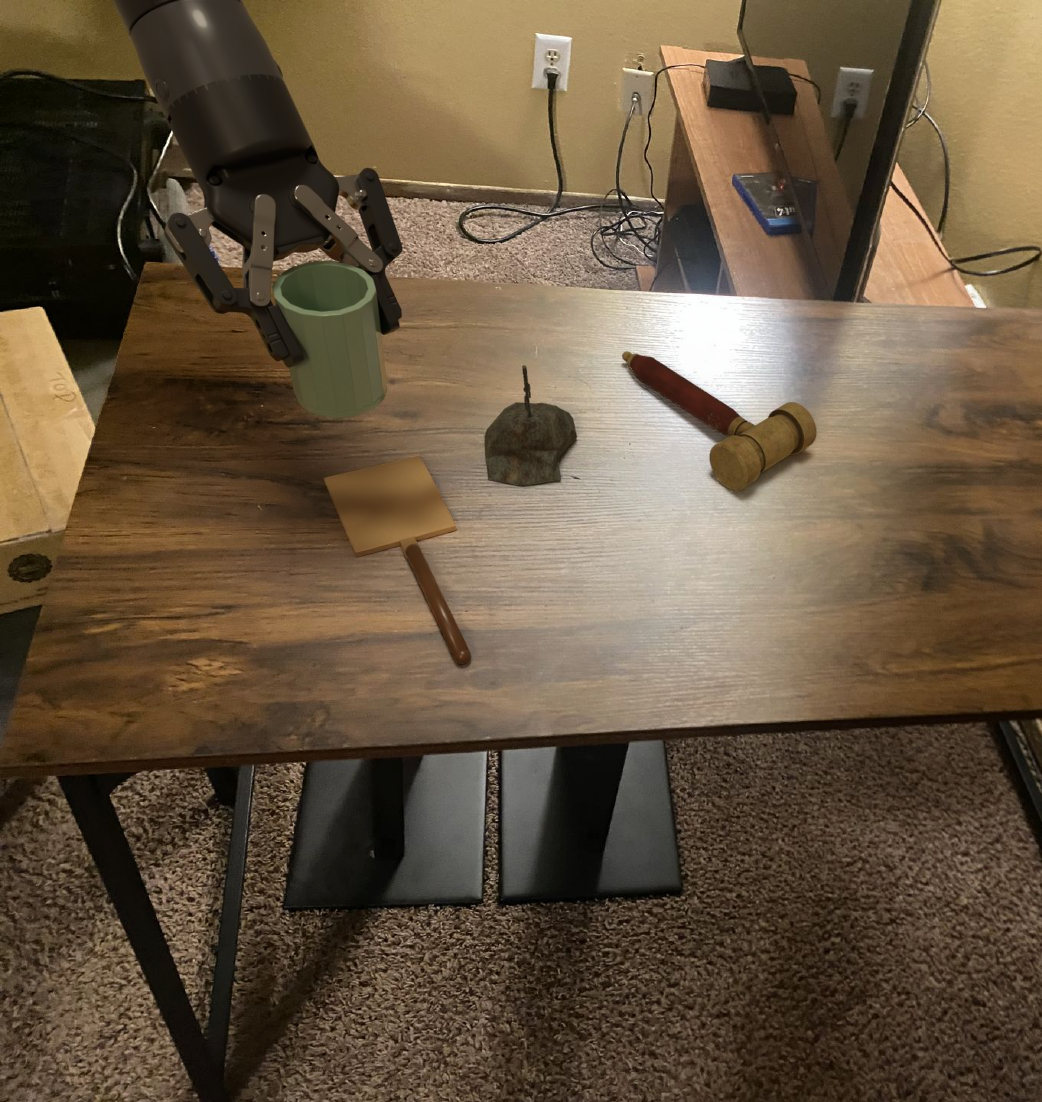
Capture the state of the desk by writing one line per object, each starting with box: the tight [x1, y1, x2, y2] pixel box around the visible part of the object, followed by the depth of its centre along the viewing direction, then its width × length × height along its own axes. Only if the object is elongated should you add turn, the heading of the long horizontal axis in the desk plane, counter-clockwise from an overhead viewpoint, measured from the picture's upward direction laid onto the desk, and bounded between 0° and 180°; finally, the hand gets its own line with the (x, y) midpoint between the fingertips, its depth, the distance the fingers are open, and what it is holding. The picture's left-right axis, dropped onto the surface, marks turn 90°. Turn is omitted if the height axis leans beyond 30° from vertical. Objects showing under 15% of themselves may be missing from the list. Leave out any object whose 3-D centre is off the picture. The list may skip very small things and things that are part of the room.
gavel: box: [621, 350, 818, 492], centre depth 94 cm, size 21×5×10 cm
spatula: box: [323, 454, 472, 665], centre depth 77 cm, size 22×8×1 cm, turn 31°
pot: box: [271, 260, 388, 419], centre depth 67 cm, size 6×6×8 cm
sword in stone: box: [483, 364, 578, 487], centre depth 84 cm, size 10×8×12 cm
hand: (344, 346), depth 66 cm, fingers closed on pot, 6 cm apart
